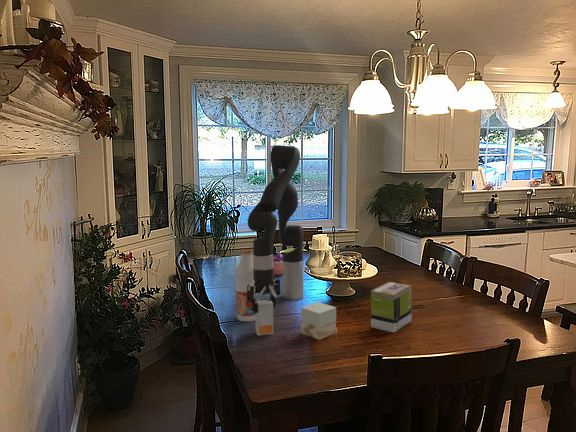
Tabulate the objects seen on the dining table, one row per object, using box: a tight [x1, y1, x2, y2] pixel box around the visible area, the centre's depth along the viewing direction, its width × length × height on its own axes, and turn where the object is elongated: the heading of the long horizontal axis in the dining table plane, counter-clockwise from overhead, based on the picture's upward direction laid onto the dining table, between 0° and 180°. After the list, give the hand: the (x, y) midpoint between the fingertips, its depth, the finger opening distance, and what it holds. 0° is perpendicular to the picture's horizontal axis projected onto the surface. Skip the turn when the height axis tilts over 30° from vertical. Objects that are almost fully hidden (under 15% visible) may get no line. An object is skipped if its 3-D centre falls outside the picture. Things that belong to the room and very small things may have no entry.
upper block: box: [300, 301, 337, 327], centre depth 177 cm, size 9×9×5 cm
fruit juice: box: [235, 248, 261, 323], centre depth 193 cm, size 9×9×28 cm
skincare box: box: [254, 299, 274, 337], centre depth 178 cm, size 6×4×12 cm
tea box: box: [370, 281, 413, 333], centre depth 184 cm, size 15×10×15 cm
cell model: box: [273, 252, 284, 276], centre depth 262 cm, size 17×20×11 cm
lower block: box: [300, 320, 337, 341], centre depth 178 cm, size 9×9×5 cm
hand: (264, 309), depth 177 cm, fingers open, 8 cm apart
